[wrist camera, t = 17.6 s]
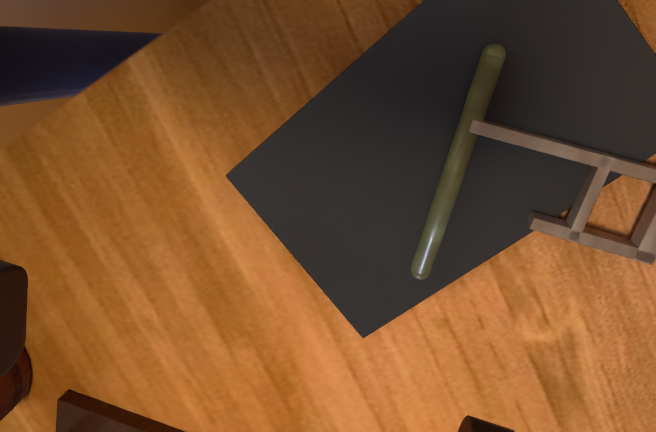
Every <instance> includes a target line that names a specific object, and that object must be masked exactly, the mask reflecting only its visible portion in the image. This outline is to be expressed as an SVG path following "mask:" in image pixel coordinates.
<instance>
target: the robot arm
mask: <svg viewBox="0 0 656 432" xmlns="http://www.w3.org/2000/svg"><path fill="white" fill-rule="evenodd" d="M27 288H28V277H27V273H26V271H25V270H24V269H23V268H22V267H20V266H17V265H14V264H11V263H8V262H5V261H2V260H0V378H1V377H2V376H4V375H5V374H6V373H7V372H8V371H9V370H10V369H11V368H12V367H13V366H14V365H15V363H16V362H17V360H18V359H19V357H20V355H21V353H22V351H23V348H24V344H25V338H26V314H27ZM458 432H514V430H511V429H508V428H505V427H502V426H499V425H496V424H493V423H490V422H487V421H484V420H481V419H478V418H475V417H472V416H469V415H468V416H466V417H465V418H464V420H463V421H462V423H461V425H460V428H459V430H458Z"/></svg>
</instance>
